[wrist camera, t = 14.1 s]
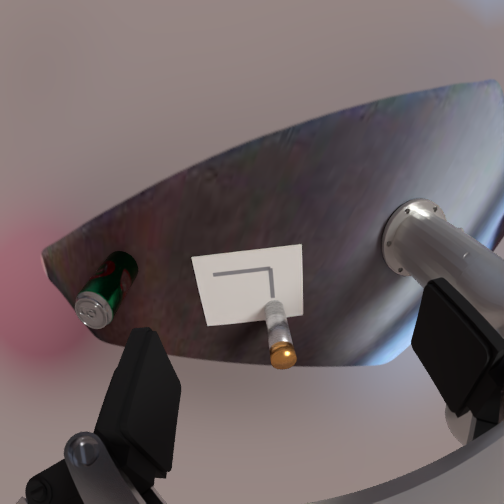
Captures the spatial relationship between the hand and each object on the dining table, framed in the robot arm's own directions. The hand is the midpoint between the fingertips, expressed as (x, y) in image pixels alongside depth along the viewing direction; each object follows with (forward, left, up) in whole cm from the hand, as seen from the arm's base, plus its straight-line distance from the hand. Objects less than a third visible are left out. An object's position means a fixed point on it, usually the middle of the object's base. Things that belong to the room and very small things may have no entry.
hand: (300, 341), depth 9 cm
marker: (-1, +20, -28) cm, 34 cm away
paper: (+2, +16, -28) cm, 32 cm away
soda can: (+20, +10, -28) cm, 36 cm away
